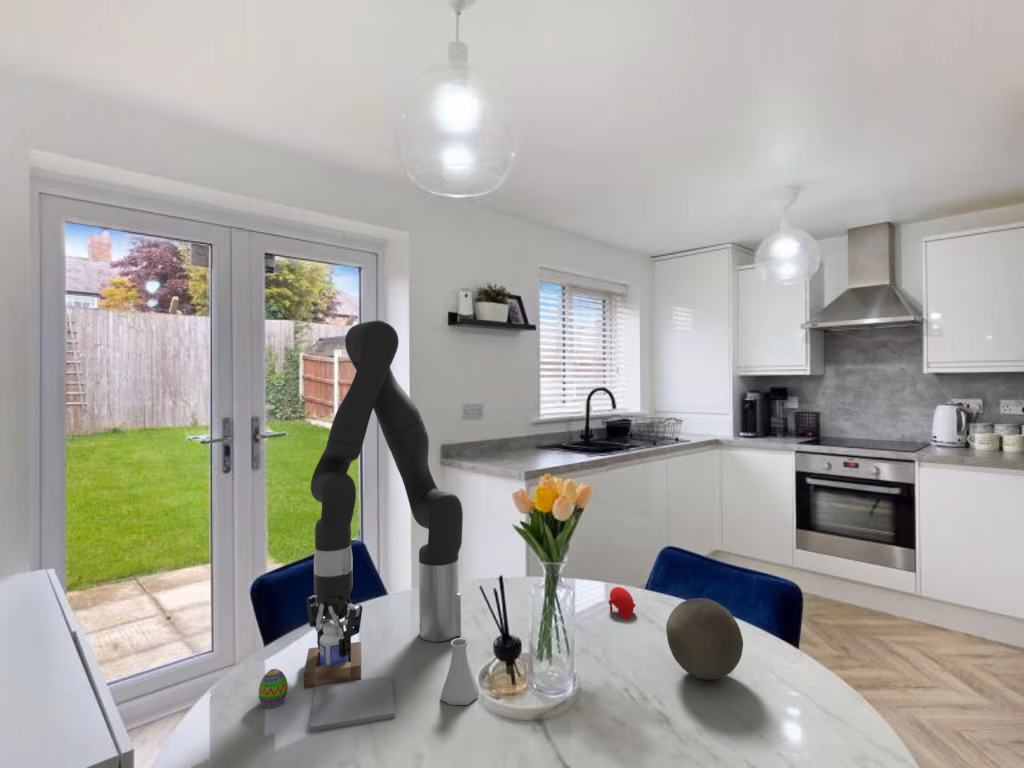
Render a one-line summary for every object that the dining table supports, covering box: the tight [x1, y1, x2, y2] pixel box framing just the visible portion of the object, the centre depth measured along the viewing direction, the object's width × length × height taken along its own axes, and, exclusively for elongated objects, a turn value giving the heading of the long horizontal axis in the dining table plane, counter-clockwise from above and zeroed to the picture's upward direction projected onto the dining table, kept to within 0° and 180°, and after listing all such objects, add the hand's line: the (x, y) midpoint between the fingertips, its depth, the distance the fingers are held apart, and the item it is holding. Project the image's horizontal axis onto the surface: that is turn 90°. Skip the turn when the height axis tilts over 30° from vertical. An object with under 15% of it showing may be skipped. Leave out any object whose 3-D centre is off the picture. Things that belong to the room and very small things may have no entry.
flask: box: [439, 637, 479, 706], centre depth 101 cm, size 7×7×10 cm
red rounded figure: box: [608, 586, 636, 620], centre depth 137 cm, size 8×6×6 cm
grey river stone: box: [665, 597, 744, 681], centre depth 106 cm, size 14×14×15 cm
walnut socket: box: [303, 641, 362, 690], centre depth 110 cm, size 11×11×3 cm
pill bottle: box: [320, 619, 348, 666], centre depth 110 cm, size 5×5×10 cm
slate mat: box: [309, 674, 396, 733], centre depth 99 cm, size 14×13×1 cm
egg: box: [258, 668, 289, 708], centre depth 99 cm, size 5×5×6 cm
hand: (334, 651), depth 110 cm, fingers closed on pill bottle, 5 cm apart
